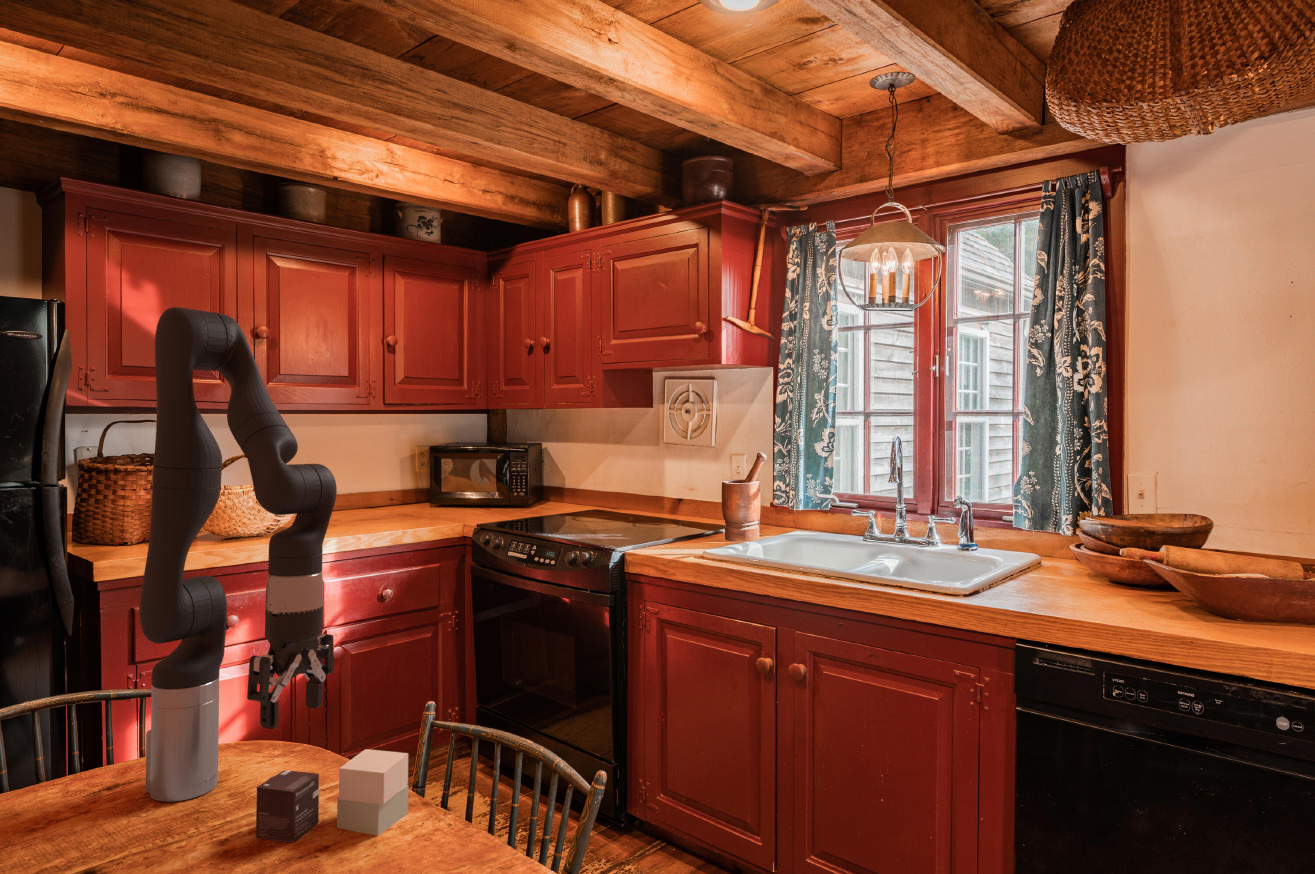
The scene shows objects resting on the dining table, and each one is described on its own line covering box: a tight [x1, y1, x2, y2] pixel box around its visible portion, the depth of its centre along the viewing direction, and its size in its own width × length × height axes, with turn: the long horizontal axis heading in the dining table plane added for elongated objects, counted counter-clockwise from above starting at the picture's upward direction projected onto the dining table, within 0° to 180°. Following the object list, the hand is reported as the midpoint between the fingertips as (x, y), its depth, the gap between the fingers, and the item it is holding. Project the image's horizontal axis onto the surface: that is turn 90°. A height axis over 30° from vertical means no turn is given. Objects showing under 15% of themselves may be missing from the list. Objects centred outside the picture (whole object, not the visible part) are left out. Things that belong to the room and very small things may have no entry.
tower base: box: [336, 783, 409, 837], centre depth 117 cm, size 7×7×4 cm
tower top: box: [338, 748, 409, 805], centre depth 117 cm, size 7×7×4 cm
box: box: [255, 769, 320, 843], centre depth 114 cm, size 6×6×7 cm
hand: (292, 716), depth 114 cm, fingers open, 8 cm apart
